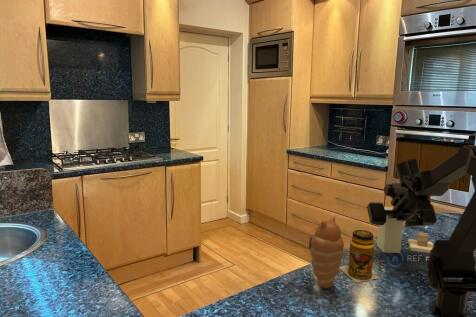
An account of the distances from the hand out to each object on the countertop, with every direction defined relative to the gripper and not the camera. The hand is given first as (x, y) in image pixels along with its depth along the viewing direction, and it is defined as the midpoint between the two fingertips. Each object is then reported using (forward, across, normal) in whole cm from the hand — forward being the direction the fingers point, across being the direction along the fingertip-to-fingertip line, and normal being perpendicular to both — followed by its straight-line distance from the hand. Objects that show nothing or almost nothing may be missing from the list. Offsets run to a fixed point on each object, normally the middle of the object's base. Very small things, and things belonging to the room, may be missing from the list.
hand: (390, 224), depth 111 cm
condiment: (-5, +15, +17) cm, 23 cm away
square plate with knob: (+7, -11, +5) cm, 14 cm away
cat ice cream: (-10, +26, +22) cm, 35 cm away
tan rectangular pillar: (+6, 0, +6) cm, 8 cm away
